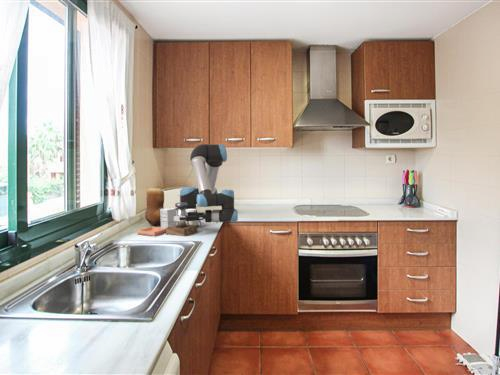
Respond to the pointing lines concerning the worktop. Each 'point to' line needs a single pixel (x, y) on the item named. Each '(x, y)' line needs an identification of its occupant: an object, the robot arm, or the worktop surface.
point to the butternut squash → (154, 206)
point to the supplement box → (167, 217)
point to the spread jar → (194, 221)
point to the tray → (152, 231)
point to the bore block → (181, 230)
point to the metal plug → (181, 213)
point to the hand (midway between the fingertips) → (175, 216)
